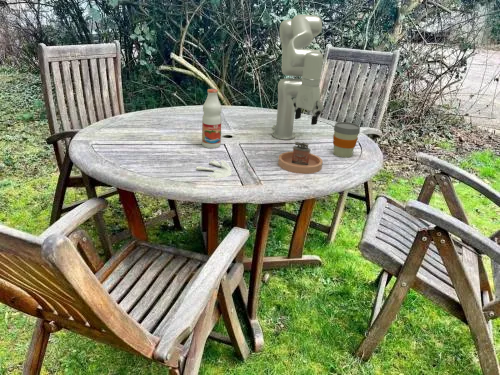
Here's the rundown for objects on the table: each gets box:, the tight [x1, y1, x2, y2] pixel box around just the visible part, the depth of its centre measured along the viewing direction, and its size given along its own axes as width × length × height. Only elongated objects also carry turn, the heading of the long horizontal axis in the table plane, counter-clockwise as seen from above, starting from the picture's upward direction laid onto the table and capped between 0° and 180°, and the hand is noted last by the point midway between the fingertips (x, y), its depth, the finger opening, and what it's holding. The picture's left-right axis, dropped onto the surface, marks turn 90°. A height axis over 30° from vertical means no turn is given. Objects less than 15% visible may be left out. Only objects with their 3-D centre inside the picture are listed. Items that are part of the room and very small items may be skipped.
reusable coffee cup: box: [332, 121, 361, 158], centre depth 202 cm, size 13×12×15 cm
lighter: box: [291, 141, 311, 165], centre depth 186 cm, size 8×3×10 cm, turn 72°
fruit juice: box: [201, 88, 223, 149], centre depth 199 cm, size 9×9×28 cm
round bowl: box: [277, 150, 324, 175], centre depth 187 cm, size 20×20×3 cm
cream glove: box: [195, 159, 232, 180], centre depth 178 cm, size 20×22×2 cm
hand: (305, 121), depth 181 cm, fingers open, 9 cm apart
